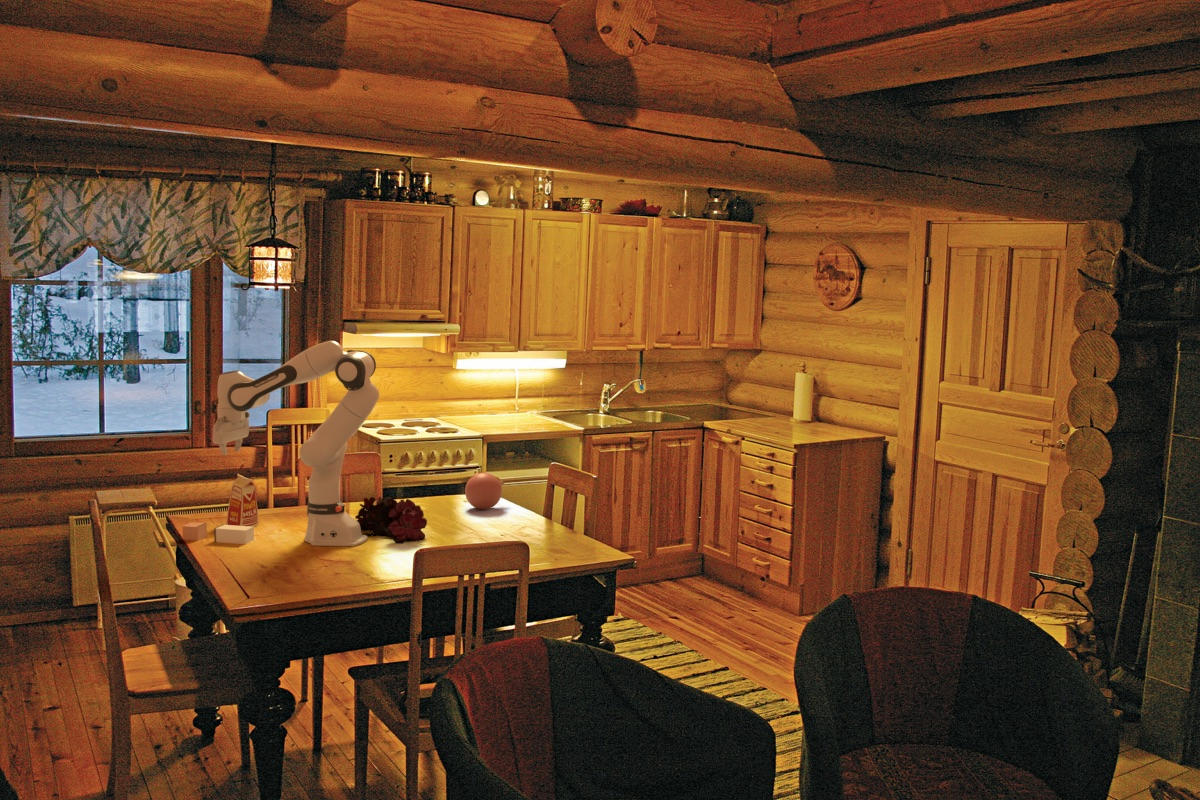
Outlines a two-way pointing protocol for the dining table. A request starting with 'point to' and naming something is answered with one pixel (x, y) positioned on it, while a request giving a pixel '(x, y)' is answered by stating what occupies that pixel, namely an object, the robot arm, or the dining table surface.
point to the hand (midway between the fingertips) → (231, 452)
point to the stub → (194, 531)
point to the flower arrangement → (392, 519)
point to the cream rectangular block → (233, 534)
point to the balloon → (483, 491)
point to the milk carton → (242, 503)
